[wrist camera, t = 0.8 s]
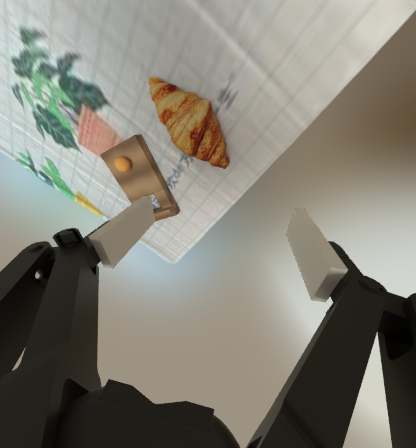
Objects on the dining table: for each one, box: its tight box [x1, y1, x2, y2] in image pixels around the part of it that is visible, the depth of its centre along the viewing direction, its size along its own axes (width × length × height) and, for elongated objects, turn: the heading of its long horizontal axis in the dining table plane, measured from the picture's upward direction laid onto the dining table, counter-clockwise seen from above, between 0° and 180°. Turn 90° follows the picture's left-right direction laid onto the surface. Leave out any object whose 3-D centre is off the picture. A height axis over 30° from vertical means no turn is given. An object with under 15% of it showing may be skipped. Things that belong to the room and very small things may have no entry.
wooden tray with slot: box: [100, 135, 180, 221], centre depth 40 cm, size 20×11×4 cm, turn 22°
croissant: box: [149, 77, 229, 169], centre depth 31 cm, size 21×10×8 cm, turn 47°
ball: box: [114, 157, 130, 172], centre depth 36 cm, size 3×3×3 cm
